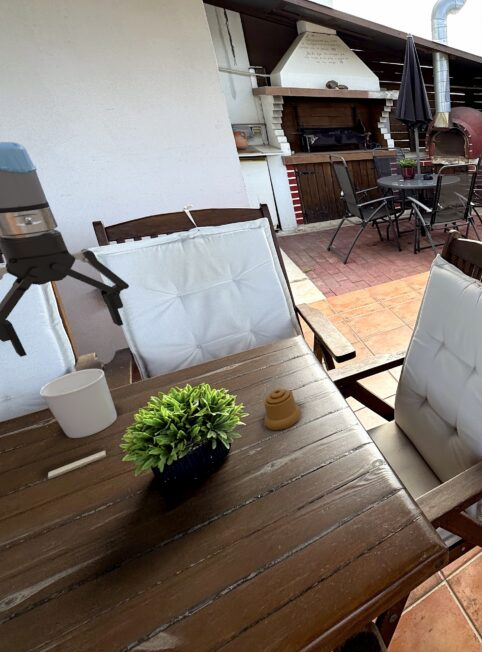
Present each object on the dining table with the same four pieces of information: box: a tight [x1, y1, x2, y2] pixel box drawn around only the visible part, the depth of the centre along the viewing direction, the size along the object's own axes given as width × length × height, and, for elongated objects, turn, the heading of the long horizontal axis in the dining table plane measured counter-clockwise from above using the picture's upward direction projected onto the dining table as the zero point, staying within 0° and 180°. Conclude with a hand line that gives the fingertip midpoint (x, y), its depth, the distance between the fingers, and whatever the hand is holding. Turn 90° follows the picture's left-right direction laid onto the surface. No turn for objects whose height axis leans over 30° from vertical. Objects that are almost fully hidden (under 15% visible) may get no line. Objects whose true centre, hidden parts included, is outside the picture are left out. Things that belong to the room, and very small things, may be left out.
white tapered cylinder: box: [38, 368, 118, 439], centre depth 89 cm, size 10×10×12 cm
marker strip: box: [47, 450, 107, 480], centre depth 80 cm, size 8×2×1 cm, turn 135°
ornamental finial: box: [263, 388, 302, 431], centre depth 91 cm, size 8×8×8 cm
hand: (73, 338), depth 78 cm, fingers open, 13 cm apart
